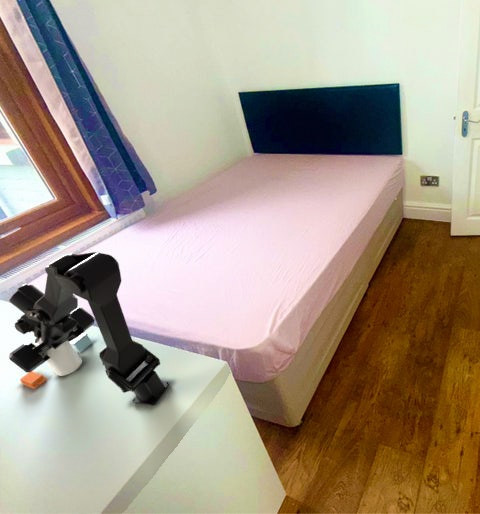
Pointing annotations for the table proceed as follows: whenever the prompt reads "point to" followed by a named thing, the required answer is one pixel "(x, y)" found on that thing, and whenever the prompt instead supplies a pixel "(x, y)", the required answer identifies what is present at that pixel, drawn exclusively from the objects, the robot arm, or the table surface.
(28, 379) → the orange rectangular block
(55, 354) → the can
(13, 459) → the table surface
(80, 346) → the box
